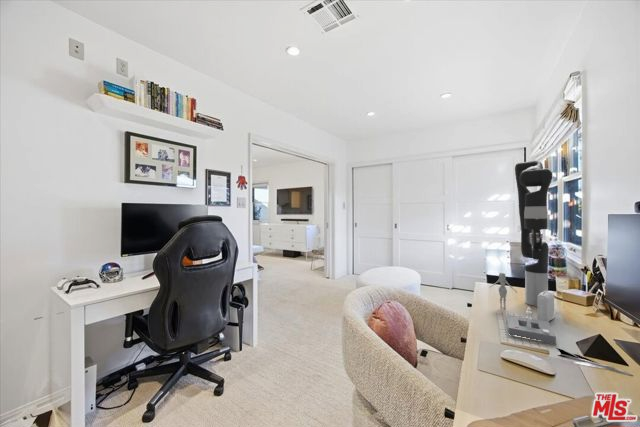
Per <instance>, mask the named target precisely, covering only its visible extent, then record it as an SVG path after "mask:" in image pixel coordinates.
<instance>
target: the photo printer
mask: <svg viewBox="0 0 640 427" xmlns="http://www.w3.org/2000/svg"><path fill="white" fill-rule="evenodd" d="M536 308H537V309H536V310H537V311H536V313H537V320H542V321H548V322H550V321H551V320H553V319H554V318H555V316H556V315H555V295H554V294H553V292H551V291H549V290H548V291H544V292H541V293H540V294H539V295H538V297H537V306H536Z"/></svg>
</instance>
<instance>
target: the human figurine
mask: <svg viewBox="0 0 640 427" xmlns="http://www.w3.org/2000/svg"><path fill="white" fill-rule="evenodd" d="M497 283H499V284H500V286H499V287H498V293H499V294H498V295H499V297H500V298H499V301H500V302H499V303H500V309H503V310H506V309H507V307H506V304H507V303H506V302H507V301H506V300H507V298H506V297H507V293H508V290H507V287H506V285H508V286H509V287H510V289H512V291H514V292H515V293H518V292H517V290H516V289H515V288H513V286H512V285H510V283H509V282H508V281H507V276H506V273H504V272H499V274H498V280H497V281H496V282H494V283H493V284H492V285H490V286H489V288H488V289H490V288H491V287H493V286H495V285H496V284H497ZM502 305H503V306H502Z"/></svg>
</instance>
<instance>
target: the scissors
mask: <svg viewBox="0 0 640 427" xmlns="http://www.w3.org/2000/svg"><path fill="white" fill-rule="evenodd" d="M556 349H557V351H558V353H559V354H558V356H560V357H563V358H569V359H573V360H575V361H571V363H573V364H576V365H580V366H585V367H586V366H587V367H591V368H592V367H593V368H598V369H604V370H610V371H613V372H616V373H620V374H624V375H627V376H631V377H634V374H633V373H629V372H627V371H624V370H622V369H618V368H615V367H614V366H611V365H607V364H601V363H599V362H596V361H594V360H592V359H589V358H587V357H585V356H583V355H580V354H575V353H570V352H568V351H567V350H564V349H561V348H558V347H556Z"/></svg>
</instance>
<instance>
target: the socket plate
mask: <svg viewBox="0 0 640 427" xmlns="http://www.w3.org/2000/svg"><path fill="white" fill-rule="evenodd" d="M530 321H531V327H532V328H530V327H526V325H527V318H525V317H524V316H517V315H511V314H506V324H507V325H508V327H507V333H509V334H510V335H517V336H521V337H526V338H530V339H536V340H541V341H543V342H542V343H544V342H545V343H544V344H549V345H555V346H556V345H557V337H556V334H555V332H554V331H553V328H552V326H551V324H550V321H542V320H539V319H536V318H535V319H534V318H532V319H530ZM507 325H506V326H507ZM509 334H508V335H509ZM510 335H509V336H510Z"/></svg>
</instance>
